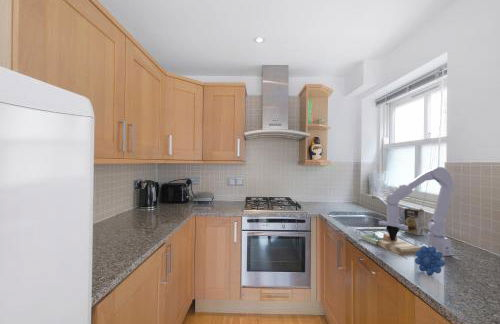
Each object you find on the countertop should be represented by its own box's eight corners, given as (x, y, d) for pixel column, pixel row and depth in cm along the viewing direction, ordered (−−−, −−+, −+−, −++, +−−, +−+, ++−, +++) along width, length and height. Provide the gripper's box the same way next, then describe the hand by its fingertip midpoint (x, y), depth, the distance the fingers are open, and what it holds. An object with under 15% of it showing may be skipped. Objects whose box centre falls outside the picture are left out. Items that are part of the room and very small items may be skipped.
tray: (395, 243, 143) (395, 239, 143) (375, 245, 140) (375, 240, 140) (379, 237, 155) (378, 233, 156) (360, 238, 152) (360, 234, 152)
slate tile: (381, 232, 151) (380, 235, 151) (373, 232, 150) (372, 235, 150) (386, 237, 146) (385, 240, 147) (379, 237, 145) (378, 241, 146)
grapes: (451, 279, 98) (451, 248, 98) (440, 281, 95) (440, 250, 95) (422, 267, 108) (422, 240, 109) (411, 270, 106) (411, 241, 106)
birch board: (420, 253, 127) (420, 247, 127) (401, 255, 124) (401, 249, 124) (395, 243, 142) (395, 238, 142) (377, 245, 139) (377, 240, 139)
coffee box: (404, 232, 168) (403, 208, 169) (410, 231, 171) (409, 207, 171) (418, 235, 160) (417, 210, 160) (424, 234, 163) (423, 209, 163)
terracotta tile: (397, 240, 138) (397, 236, 138) (388, 240, 138) (388, 236, 138) (392, 238, 143) (391, 233, 143) (383, 238, 143) (383, 233, 143)
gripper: (410, 216, 133) (410, 242, 133) (383, 212, 145) (383, 236, 145) (404, 218, 129) (404, 244, 129) (376, 214, 141) (376, 238, 141)
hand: (392, 240), depth 137 cm, fingers closed
